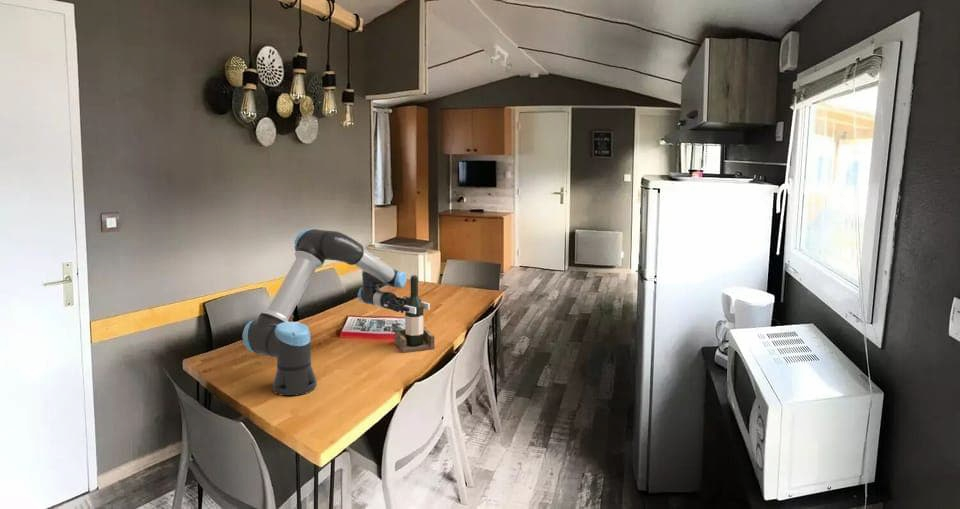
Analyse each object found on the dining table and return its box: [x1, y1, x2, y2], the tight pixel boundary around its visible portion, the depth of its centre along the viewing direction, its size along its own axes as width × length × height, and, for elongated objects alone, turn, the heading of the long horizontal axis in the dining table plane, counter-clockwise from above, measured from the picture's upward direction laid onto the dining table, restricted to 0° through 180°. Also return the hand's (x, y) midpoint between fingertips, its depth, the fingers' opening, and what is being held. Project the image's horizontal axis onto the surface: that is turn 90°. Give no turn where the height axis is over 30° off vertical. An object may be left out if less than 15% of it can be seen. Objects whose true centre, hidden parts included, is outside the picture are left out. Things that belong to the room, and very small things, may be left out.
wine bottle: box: [404, 274, 424, 345], centre depth 244 cm, size 8×8×30 cm
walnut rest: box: [394, 326, 435, 354], centre depth 247 cm, size 14×14×6 cm
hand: (422, 308), depth 241 cm, fingers closed on wine bottle, 8 cm apart
